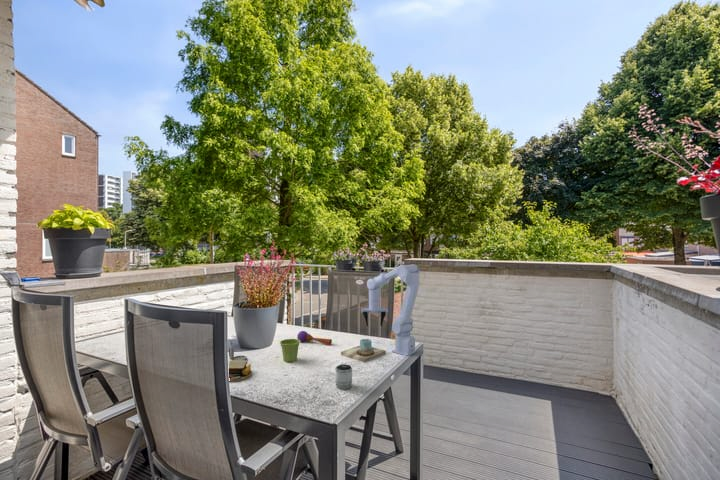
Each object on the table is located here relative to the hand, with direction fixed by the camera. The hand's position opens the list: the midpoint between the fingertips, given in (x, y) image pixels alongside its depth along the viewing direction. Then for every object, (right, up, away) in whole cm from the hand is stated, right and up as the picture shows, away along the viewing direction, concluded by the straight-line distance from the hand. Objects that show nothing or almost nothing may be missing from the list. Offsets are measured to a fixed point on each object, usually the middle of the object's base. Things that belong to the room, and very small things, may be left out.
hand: (374, 325), depth 188 cm
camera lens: (-14, -10, -56) cm, 59 cm away
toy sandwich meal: (-59, -10, -45) cm, 75 cm away
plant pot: (-40, -10, -27) cm, 49 cm away
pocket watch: (-65, -9, -28) cm, 71 cm away
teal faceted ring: (-5, -8, -14) cm, 17 cm away
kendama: (-33, -10, 0) cm, 34 cm away
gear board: (-6, -9, -19) cm, 22 cm away
